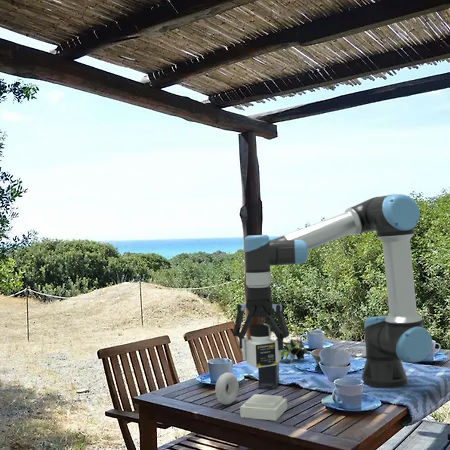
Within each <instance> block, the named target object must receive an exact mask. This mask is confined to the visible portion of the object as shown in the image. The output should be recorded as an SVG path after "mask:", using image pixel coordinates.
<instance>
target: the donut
mask: <svg viewBox="0 0 450 450" xmlns="http://www.w3.org/2000/svg"><path fill="white" fill-rule="evenodd" d="M227 386H228V388H227ZM239 389H240V385H239V381H238V377H237V376H236V375H235V374H234V373H232V372H224V373H222V374H220V376H219V377H218V378H217V380H216V383H215V391H214V392H215V396H216V399H217V401H218V402H219V403H220V404H222V405H225V406H227V405H231V404H232V403H234V402H235V400H236V399H237V396H238V393H239Z"/></svg>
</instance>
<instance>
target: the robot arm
mask: <svg viewBox="0 0 450 450" xmlns="http://www.w3.org/2000/svg"><path fill="white" fill-rule="evenodd" d="M420 215H421V214H420V209H419V206H418V204H417V202H416V201H415V200H414V199H413V198H412V197H411V196H409V195H406V194H402V193H399V194H398V193H392V194H387V195H381V196H375V197H371V198H368V199H367V200H364V201H362V202H360V203H357V204H356V205H353V206H351V207H347V208H346V209H345V211H344V212H342V213H341V214H338V215H335V216H332V217H329V218H327V219H325V220H321V221H320V222H316V223H314V224H311V225H308V226H306V227H303V228H300V229H297V230H294V231H292V232H290V233H287V234H284V235H281V236H279V237H276V238H273V239H270V236H269V235H268V234H259V235H257V234H256V235H247V236H245V238H244V248H243V249H244V251H243V252H244V262H245V265H244V266H245V284H246V286H247V287H246V289H245V290H246V302H245V303H239V304H237V305H236V310H237V313H236V318H235V322H234V326H233V330H232V331H233V332H232V336H233V337H237V338H238V343H239V346H238V347H239V349H241V350H242V351H241V352H242V354H241V355H242V361H246V340H248V337H247V336H246V334H247V332H248V331H249V329H250V327H251V324H252V322H253V320H254V318H264V319H265V321H266V322H267V324H268V325H270V329H271V330H272V332H273V334H274V335H275V337H276V339H274V341H275V355H276V362H282V361H281V352H282V350H283V348H284V347H283V345H284V344H283V342H284V339H286V338H288V337H289V336H290V332H289V329H288V327H287V323H286V320H285V319H286V318H285V317H284V314H283V304H282V303H279V304H277V303H273V300H272V287H271V286H270V285H271V284H272V279H271V277H272V275H271V274H272V273H271V266H286V265H300V264H305V263H306V262H307V260H308V256H309V255H308V254H309V250H312V249H315V248H317V247H321V246H323V245H326V244H328V243H331V242H333V241H336V240H338V239H341V238H344V237H347V236H350V235H352V234H353V235H356V236H357V235H360V234H362V233H367V232H373V231H375V232H376V237H377V239H379V241H380V242H382V251H383V260H384V271H385V282H386V283H385V284H386V293H387V303H388V315H380V316H379V315H377V316H368V317H366V318H365V319H364V327H363V329H364V339H365V342H364V343H365V358H366V360H365V363H364V367H363V371H362V374H361V381H362V380H363V381H364V383H363V384H364V385H366V386H369V387H375V388H384V389H385V388H386V389H387V388H388V389H390V388H391V389H392V388H400V387H403V386H405V385H408V377H407V373H406V370H405V368H404V366H403V363H402V361H403V362H407V363H408V362H409V363H419V362H421V361H423V360H424V359H425V358H427V355H429V353H430V352H431V350H432V345H433V339H432V335H431V334H430V331H428V330H427V329H426V328H424V323H423V322H424V321H423V317H422V316H421V315H420V314H419V313H418V311H417V310H418V309H417V302H416V300H417V299H416V291H415V290H416V289H415V281H414V271H413V269H414V268H413V259H412V249H411V239H412V238H413V237H414V235H415V230H414V229H415V227H416V226H417V224H418V222H419V220H420ZM246 309H247V311H248V312H249V313H248V315H247V316H246V319H245V322H244V324H243V323H242V322H243V317H244V313H245V311H246ZM272 310H273V311H274V312H275V315H276V318H277V322H278V324H279V326H278V324H277V322H276V320H275V319H274V315H273V314H272ZM242 324H243V326H242ZM241 327H242V328H241Z"/></svg>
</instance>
